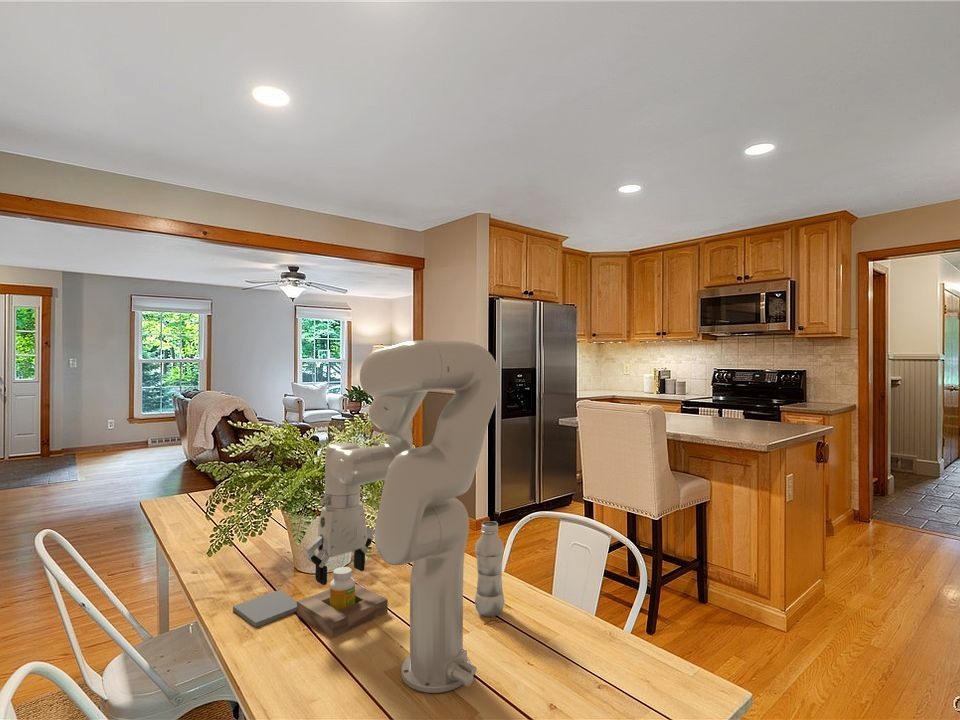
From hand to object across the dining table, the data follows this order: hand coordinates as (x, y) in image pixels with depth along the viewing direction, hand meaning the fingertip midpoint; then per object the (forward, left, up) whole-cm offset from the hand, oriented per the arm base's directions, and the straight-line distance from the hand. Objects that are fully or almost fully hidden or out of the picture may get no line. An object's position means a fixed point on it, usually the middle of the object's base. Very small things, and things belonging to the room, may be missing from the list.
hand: (340, 575), depth 117 cm
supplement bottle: (-1, 0, -9) cm, 8 cm away
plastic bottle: (-25, -22, -8) cm, 34 cm away
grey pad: (+13, +10, -8) cm, 19 cm away
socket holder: (-1, 0, -8) cm, 8 cm away
